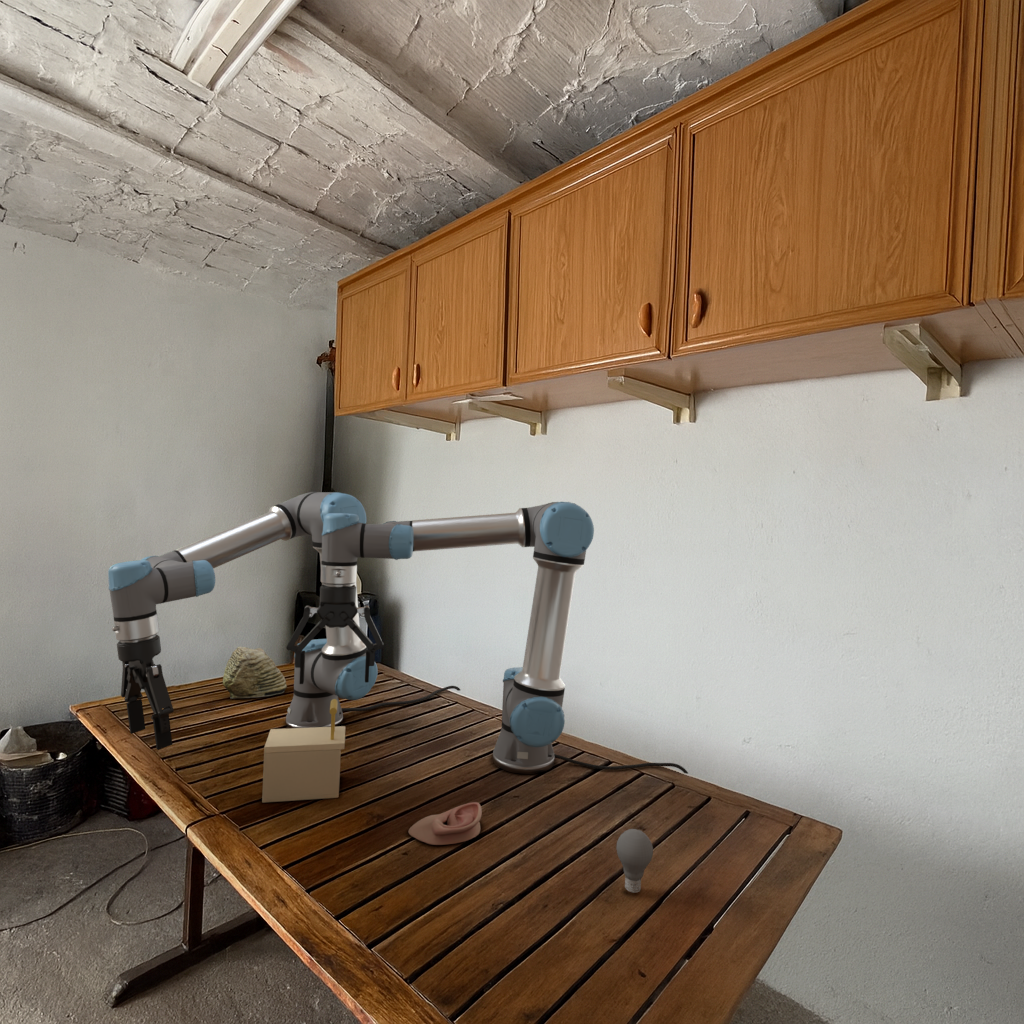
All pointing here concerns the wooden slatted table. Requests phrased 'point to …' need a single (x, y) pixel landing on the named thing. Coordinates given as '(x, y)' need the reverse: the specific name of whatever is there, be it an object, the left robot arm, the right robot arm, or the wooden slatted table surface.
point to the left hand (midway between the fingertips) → (150, 738)
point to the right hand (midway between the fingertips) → (334, 681)
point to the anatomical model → (449, 825)
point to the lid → (307, 737)
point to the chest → (301, 775)
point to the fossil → (252, 674)
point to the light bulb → (634, 857)
